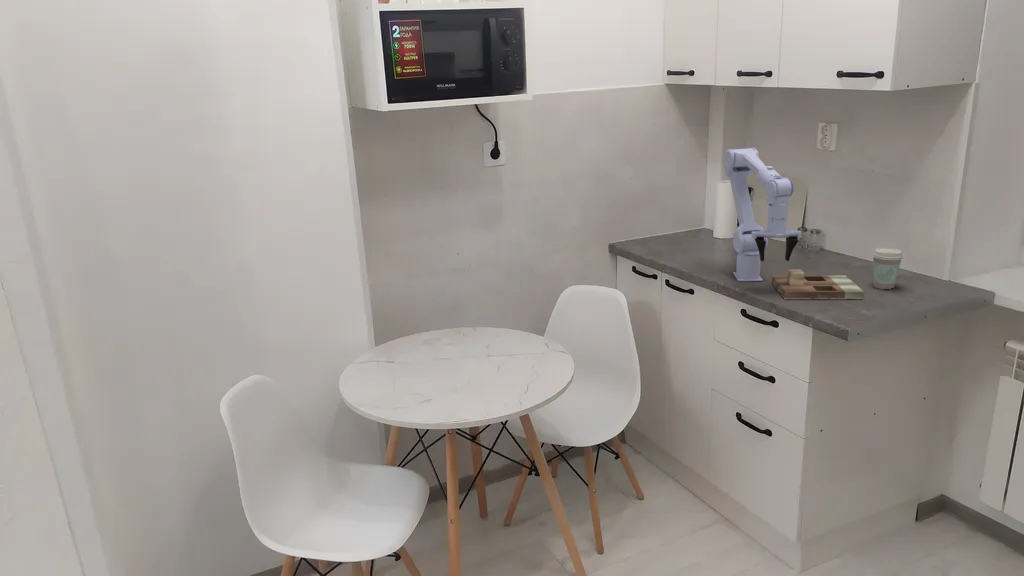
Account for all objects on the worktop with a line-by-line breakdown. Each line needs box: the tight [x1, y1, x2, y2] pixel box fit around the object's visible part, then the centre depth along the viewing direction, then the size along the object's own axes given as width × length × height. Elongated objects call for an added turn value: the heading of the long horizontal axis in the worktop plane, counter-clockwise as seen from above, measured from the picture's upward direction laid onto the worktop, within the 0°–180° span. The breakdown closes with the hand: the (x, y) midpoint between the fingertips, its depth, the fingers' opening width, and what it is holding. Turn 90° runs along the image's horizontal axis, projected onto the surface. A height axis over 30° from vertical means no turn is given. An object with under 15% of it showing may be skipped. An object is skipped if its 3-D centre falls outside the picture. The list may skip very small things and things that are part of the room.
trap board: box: [771, 275, 865, 300], centre depth 225 cm, size 17×23×2 cm
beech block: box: [786, 269, 805, 286], centre depth 224 cm, size 4×4×4 cm
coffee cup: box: [872, 247, 904, 290], centre depth 225 cm, size 8×9×12 cm
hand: (774, 260), depth 223 cm, fingers open, 7 cm apart
